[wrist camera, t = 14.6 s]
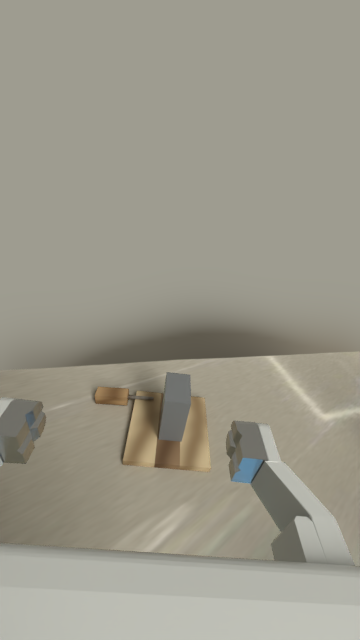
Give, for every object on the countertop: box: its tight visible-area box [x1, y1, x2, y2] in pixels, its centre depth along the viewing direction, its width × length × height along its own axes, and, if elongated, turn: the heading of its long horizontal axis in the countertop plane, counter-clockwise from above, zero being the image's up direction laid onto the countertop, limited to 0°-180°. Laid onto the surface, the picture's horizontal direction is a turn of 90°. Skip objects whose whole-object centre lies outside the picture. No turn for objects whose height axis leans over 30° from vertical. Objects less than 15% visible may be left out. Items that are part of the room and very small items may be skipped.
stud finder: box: [158, 372, 191, 442], centre depth 43 cm, size 4×6×10 cm
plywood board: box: [123, 391, 211, 472], centre depth 46 cm, size 14×14×1 cm
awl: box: [95, 387, 154, 405], centre depth 49 cm, size 11×2×2 cm, turn 90°
